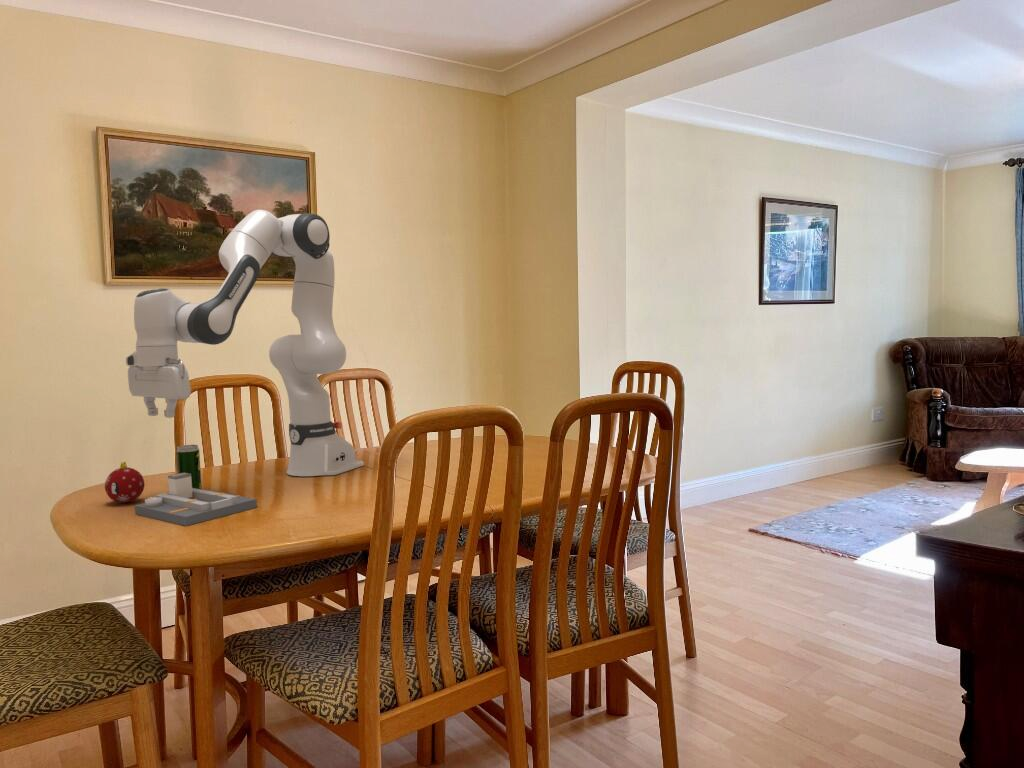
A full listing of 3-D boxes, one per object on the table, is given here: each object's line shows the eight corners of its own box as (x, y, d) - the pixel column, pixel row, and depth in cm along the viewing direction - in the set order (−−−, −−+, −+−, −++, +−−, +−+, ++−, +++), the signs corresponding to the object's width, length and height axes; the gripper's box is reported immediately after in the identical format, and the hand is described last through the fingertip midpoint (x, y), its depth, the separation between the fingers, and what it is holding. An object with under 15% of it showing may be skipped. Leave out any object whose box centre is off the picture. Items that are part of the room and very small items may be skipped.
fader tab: (185, 495, 181) (183, 472, 180) (192, 497, 179) (191, 473, 179) (169, 499, 178) (167, 475, 177) (176, 500, 176) (175, 476, 175)
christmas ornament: (153, 498, 189) (150, 458, 188) (130, 507, 180) (127, 465, 179) (121, 498, 190) (118, 458, 189) (98, 506, 181) (94, 465, 180)
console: (205, 497, 188) (204, 482, 188) (257, 507, 177) (256, 491, 177) (135, 514, 174) (134, 498, 173) (186, 526, 162) (185, 509, 162)
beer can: (181, 496, 190) (178, 448, 189) (177, 492, 194) (174, 446, 193) (204, 493, 193) (201, 446, 192) (199, 489, 197) (196, 443, 196)
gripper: (195, 358, 176) (199, 417, 177) (146, 356, 187) (150, 412, 188) (170, 359, 170) (174, 420, 172) (121, 358, 182) (125, 415, 183)
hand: (161, 416), depth 180 cm, fingers open, 5 cm apart
